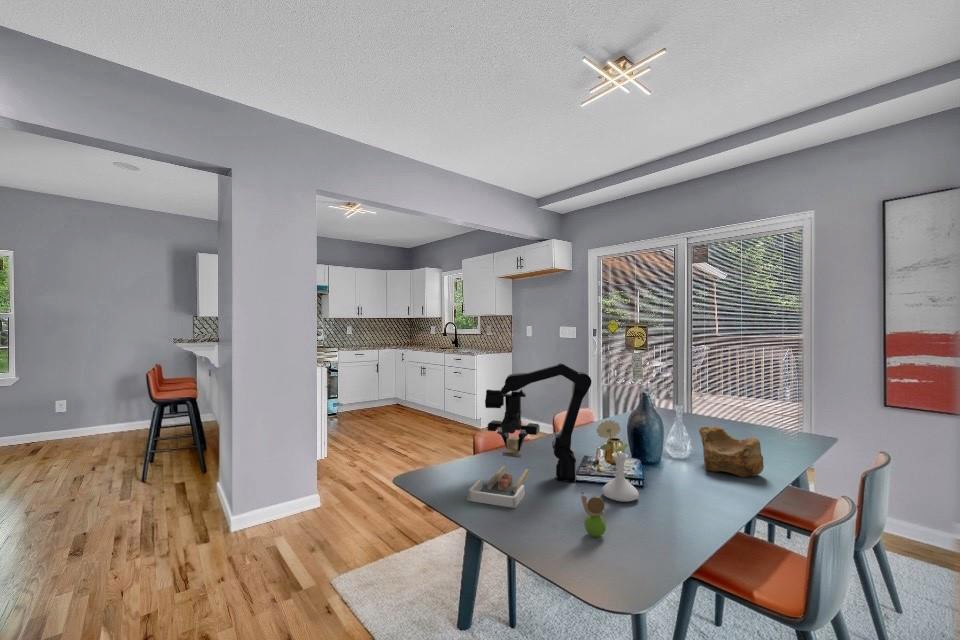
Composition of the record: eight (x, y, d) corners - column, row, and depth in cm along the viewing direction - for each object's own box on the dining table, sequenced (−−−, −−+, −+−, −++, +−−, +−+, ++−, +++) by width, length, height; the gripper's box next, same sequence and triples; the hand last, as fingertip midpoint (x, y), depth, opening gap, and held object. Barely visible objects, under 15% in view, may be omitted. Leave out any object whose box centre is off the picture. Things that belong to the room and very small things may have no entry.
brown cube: (512, 483, 148) (512, 475, 148) (510, 486, 145) (510, 477, 145) (504, 482, 149) (504, 474, 149) (501, 485, 146) (501, 476, 146)
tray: (524, 494, 138) (524, 485, 138) (515, 508, 128) (515, 498, 128) (479, 487, 144) (479, 479, 144) (467, 500, 133) (467, 491, 133)
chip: (509, 487, 144) (509, 479, 144) (506, 490, 141) (506, 482, 141) (500, 486, 145) (500, 477, 145) (498, 489, 142) (498, 480, 142)
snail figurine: (578, 531, 113) (578, 487, 113) (601, 530, 114) (600, 486, 114) (585, 541, 108) (584, 495, 108) (609, 540, 108) (608, 494, 108)
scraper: (524, 454, 155) (523, 437, 155) (520, 457, 151) (520, 441, 151) (506, 452, 157) (505, 436, 157) (502, 455, 153) (502, 439, 153)
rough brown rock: (682, 467, 166) (680, 430, 165) (707, 457, 174) (706, 422, 173) (742, 489, 145) (741, 447, 144) (767, 476, 153) (766, 437, 152)
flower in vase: (638, 493, 138) (637, 417, 139) (639, 507, 128) (638, 425, 128) (597, 488, 143) (597, 415, 143) (595, 501, 132) (595, 422, 132)
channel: (529, 474, 156) (529, 469, 156) (516, 493, 139) (516, 487, 139) (502, 471, 159) (502, 466, 159) (487, 488, 143) (487, 483, 143)
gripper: (482, 411, 150) (482, 454, 150) (532, 414, 144) (533, 459, 144) (492, 405, 161) (492, 445, 161) (539, 408, 154) (540, 450, 154)
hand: (513, 450), depth 154 cm, fingers closed on scraper, 4 cm apart
